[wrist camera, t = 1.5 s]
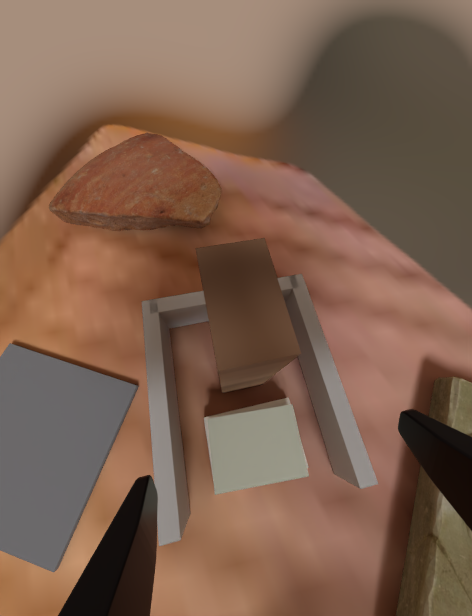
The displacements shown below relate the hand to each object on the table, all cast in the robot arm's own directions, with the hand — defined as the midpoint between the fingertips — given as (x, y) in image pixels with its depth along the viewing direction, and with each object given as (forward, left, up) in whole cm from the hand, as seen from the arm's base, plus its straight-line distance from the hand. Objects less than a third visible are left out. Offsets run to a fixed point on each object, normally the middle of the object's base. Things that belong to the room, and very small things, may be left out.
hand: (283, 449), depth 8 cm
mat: (-6, +16, -12) cm, 21 cm away
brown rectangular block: (+5, +3, -12) cm, 14 cm away
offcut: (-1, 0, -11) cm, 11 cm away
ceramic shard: (+19, +17, -13) cm, 29 cm away
